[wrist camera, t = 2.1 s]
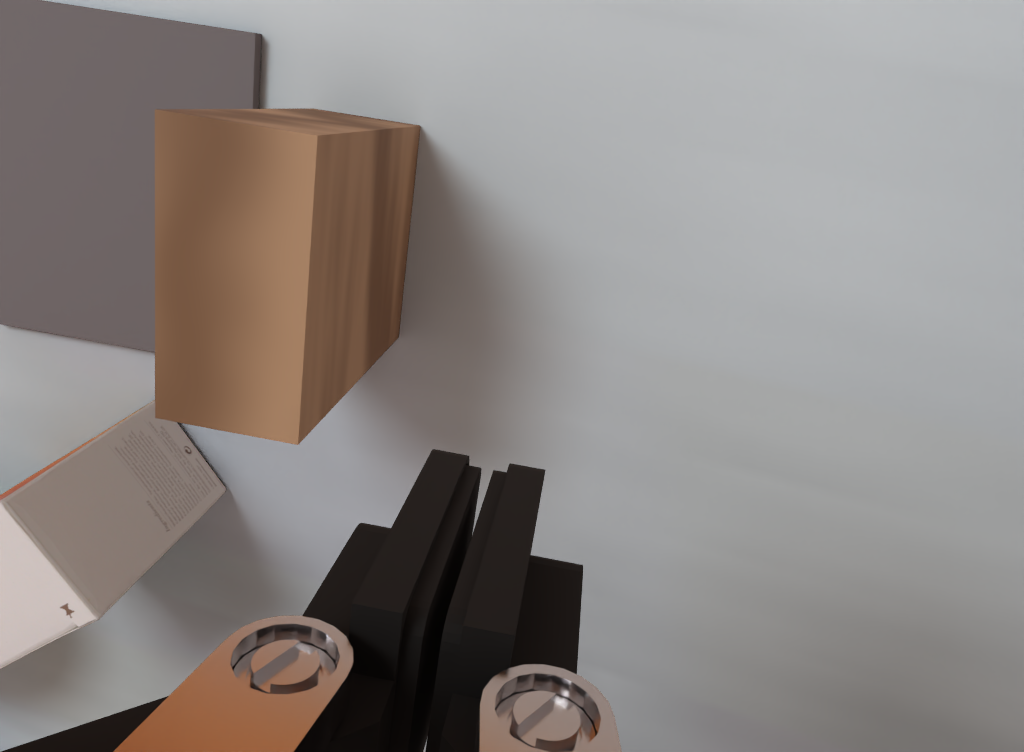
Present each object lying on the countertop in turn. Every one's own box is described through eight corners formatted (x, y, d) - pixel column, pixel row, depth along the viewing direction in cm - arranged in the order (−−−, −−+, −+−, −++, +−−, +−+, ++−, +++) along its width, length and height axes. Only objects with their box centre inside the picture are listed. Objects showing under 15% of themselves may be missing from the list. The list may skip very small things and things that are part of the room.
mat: (261, 34, 32) (255, 33, 32) (248, 364, 37) (243, 368, 36) (-22, -9, 33) (-33, -11, 32) (1, 319, 38) (-9, 322, 37)
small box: (162, 394, 38) (1, 496, 28) (231, 490, 39) (102, 620, 29) (42, 466, 40) (-147, 586, 30) (111, 555, 41) (-48, 698, 31)
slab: (420, 125, 33) (317, 135, 21) (398, 337, 36) (298, 444, 24) (309, 107, 33) (149, 108, 22) (296, 319, 36) (150, 417, 24)
